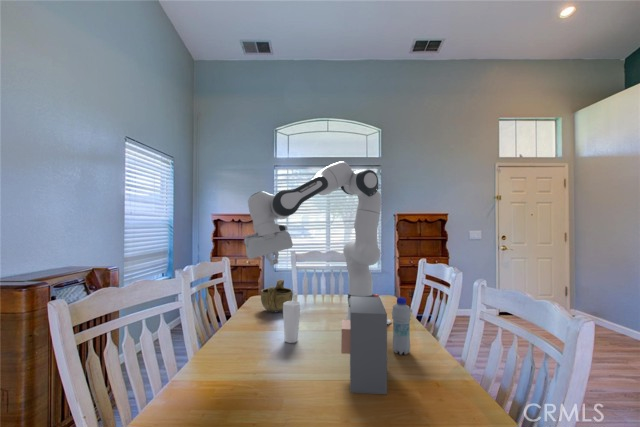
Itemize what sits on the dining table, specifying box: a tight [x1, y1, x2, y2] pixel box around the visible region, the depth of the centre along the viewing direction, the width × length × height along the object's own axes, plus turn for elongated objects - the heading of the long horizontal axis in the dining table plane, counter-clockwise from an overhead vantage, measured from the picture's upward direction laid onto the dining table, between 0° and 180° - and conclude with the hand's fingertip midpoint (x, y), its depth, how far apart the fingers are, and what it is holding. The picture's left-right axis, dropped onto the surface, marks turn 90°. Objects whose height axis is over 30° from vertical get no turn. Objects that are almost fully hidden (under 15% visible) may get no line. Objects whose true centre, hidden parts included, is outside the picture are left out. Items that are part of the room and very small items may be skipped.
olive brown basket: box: [260, 278, 294, 313], centre depth 169 cm, size 22×17×15 cm
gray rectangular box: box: [349, 296, 388, 395], centre depth 97 cm, size 10×20×22 cm, turn 175°
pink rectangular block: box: [340, 319, 351, 355], centre depth 98 cm, size 5×9×7 cm, turn 175°
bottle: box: [391, 296, 412, 356], centre depth 115 cm, size 7×7×20 cm
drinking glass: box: [282, 300, 301, 344], centre depth 126 cm, size 7×7×15 cm
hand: (274, 264), depth 127 cm, fingers closed
